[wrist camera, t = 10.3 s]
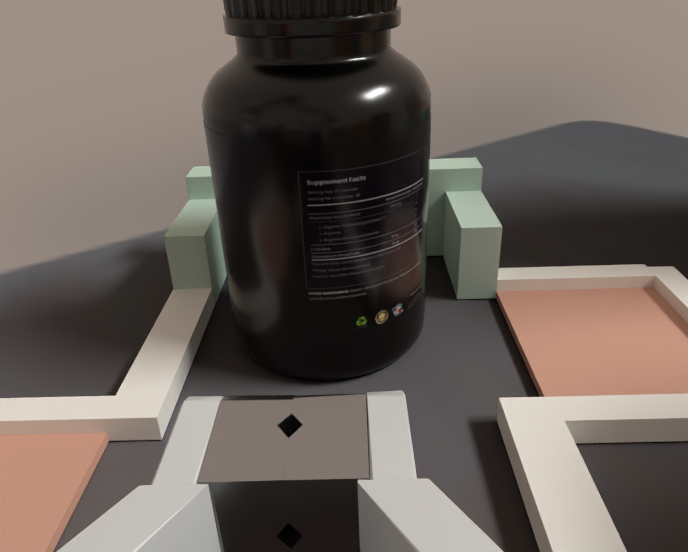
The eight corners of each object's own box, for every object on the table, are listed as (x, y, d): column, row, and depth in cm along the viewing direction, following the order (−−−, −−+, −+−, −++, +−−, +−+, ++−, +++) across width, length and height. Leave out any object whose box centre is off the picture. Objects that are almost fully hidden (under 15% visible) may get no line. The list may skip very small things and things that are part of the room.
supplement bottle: (207, 317, 23) (148, -38, 17) (358, 269, 26) (349, -46, 20) (288, 417, 18) (239, -47, 12) (466, 343, 21) (492, -54, 15)
